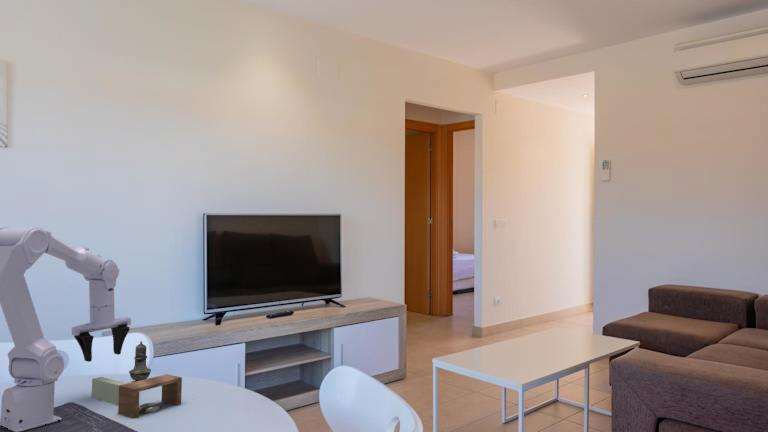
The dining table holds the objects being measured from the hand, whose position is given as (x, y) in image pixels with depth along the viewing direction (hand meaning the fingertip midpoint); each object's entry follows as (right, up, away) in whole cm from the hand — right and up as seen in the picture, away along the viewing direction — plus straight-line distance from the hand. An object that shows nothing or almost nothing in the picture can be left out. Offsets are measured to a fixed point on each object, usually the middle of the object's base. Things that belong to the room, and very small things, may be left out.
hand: (103, 357), depth 140 cm
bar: (+5, -10, -4) cm, 12 cm away
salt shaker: (+3, -11, +13) cm, 18 cm away
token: (+17, -10, -11) cm, 23 cm away
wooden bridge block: (+17, -10, -10) cm, 22 cm away
